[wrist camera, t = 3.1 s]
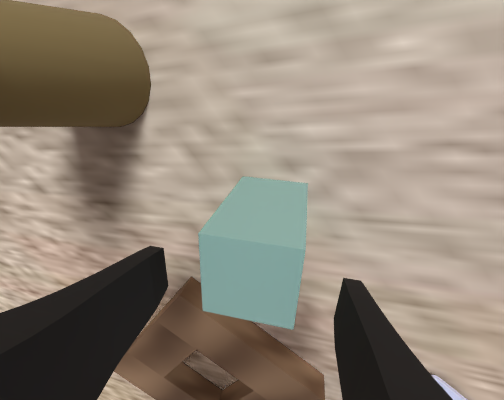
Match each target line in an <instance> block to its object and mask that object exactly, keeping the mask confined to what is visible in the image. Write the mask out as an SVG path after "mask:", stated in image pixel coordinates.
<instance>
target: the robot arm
mask: <svg viewBox="0 0 504 400" xmlns="http://www.w3.org/2000/svg"><path fill="white" fill-rule="evenodd" d="M167 288H168V280H167V272H166V264H165V256H164V248H160V247H154V246H149V247H147V248H144V249H142V250H140V251H138V252H136V253H134V254H132V255H130V256H128V257H127V258H125V259H123V260H121V261H119V262H117V263H115V264H113V265H111V266H109V267H107V268H105V269H103V270H101V271H99V272H97V273H95V274H93V275H91V276H89V277H87V278H85V279H83V280H81V281H79V282H76V283H74V284H72V285H70V286H68V287H66V288H64V289H61V290H59V291H57V292H54V293H52V294H50V295H47V296H45V297H42V298H40V299H37V300H35V301H32V302H30V303H27V304H25V305H22V306H19V307H16V308H14V309H11V310H8V311H5V312H2V313H0V400H97V399H98V397H99V395H100V394H101V392H102V390H103V388H104V387H105V385H106V383H107V381H108V380H109V378H110V376H111V375H112V373H113V371H114V370H115V368H116V367H117V365H118V364H119V362H120V361H121V359H122V358H123V356H124V355H125V353H126V352H127V351H128V349H129V348H130V346H131V345H132V343H133V342H134V341H135V339H136V338H137V336H138V335H139V333H140V332H141V331H142V329H143V328H144V326H145V325H146V323H147V322H148V321H149V319H150V318H151V316H152V315H153V313H154V312H155V310H156V309H157V307H158V305H159V303H160V301H161V300H162V298H163V296H164V294H165V292H166V290H167ZM334 338H335V351H336V358H337V365H338V372H339V378H340V385H341V392H342V398H343V400H467V399H466V398H465V397H464V396H462V395H461V394H460V393H459V392H457V391H456V390H455V389H453V388H452V387H451V386H450V385H448V384H447V383H446V382H445V381H443V380H442V379H441V378H439V377H438V376H436V375H431V374H430V373H429V372H428V371H427V370H426V368H425V367H424V366H423V365H422V364H421V362H420V361H419V360H418V359H417V357H416V356H415V355H414V354H413V352H412V351H411V350H410V349H409V347H408V346H407V345H406V344H405V342H404V341H403V340H402V338H401V337H400V336H399V334H398V333H397V332H396V330H395V329H394V328H393V326H392V325H391V323H390V322H389V321H388V319H387V318H386V317H385V315H384V314H383V312H382V311H381V309H380V308H379V306H378V305H377V304H376V302H375V301H374V299H373V298H372V296H371V295H370V293H369V292H368V290H367V289H366V287H365V286H364V284H363V283H362V282H361V281H359V280H353V279H347V278H343V282H342V286H341V290H340V295H339V299H338V303H337V307H336V311H335V315H334Z"/></svg>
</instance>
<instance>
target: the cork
mask: <svg viewBox="0 0 504 400" xmlns="http://www.w3.org/2000/svg"><path fill="white" fill-rule="evenodd" d="M150 87H151V82H150V74H149V66H148V64H147V61H146V58H145V56H144V53H143V51H142V48H141V47H140V45H139V44H138V42H137V41H136V39H135V38H134V37H133V35H132V34H131V32H130V31H129V30H127V29H126V28H125V27H124V26H123V25H121V24H120V23H119V22H118V21H117V20H115V19H112V18H109V17H107V16H104V15H102V14H97V13H91V12H84V11H77V10H71V9H64V8H58V7H51V6H45V5H38V4H32V3H25V2H18V1H12V0H0V127H121V126H124V125H127V124H130V123H133V122H134V121H135V120H136V119H137V118H138V117H139V116H140V115H142V113H143V111H144V109H145V107H146V105H147V103H148V101H149V94H150Z"/></svg>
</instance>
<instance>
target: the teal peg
mask: <svg viewBox="0 0 504 400" xmlns="http://www.w3.org/2000/svg"><path fill="white" fill-rule="evenodd" d="M307 189H308V183H299V182H290V181H281V180H271V179H262V178H253V177H242V178H241V180H240V181H239V182H238V183H237V185H236V186H235V187H234V188H233V190H232V191H231V192H230V194H229V195H228V196H227V197H226V199H225V200H224V201H223V203H222V204H221V205H220V206H219V208H218V209H217V210H216V212H215V213H214V214H213V215H212V217H211V218H210V219H209V220H208V222H207V223H206V224H205V226H204V227H203V228H202V229H201V231H200V232H199V233H198V235H199V253H200V271H201V289H202V308H203V311H206V312H211V313H216V314H220V315H225V316H230V317H235V318H240V319H244V320H249V321H254V322H259V323H263V324H268V325H273V326H278V327H283V328H287V329H292V330H293V329H294V323H295V316H296V309H297V303H298V296H299V289H300V283H301V276H302V270H303V263H304V256H305V250H306V220H307Z"/></svg>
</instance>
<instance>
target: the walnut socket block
mask: <svg viewBox="0 0 504 400" xmlns="http://www.w3.org/2000/svg"><path fill="white" fill-rule="evenodd" d="M195 350H197V351H199V352H200V353H202V354H203V355H204V356H206V357H207V358H209V359H210V360H211V361H213V362H214V363H216V364H217V365H219V366H220V367H221V368H223V369H224V370H226V371H227V372H228V373H230V374H231V375H233V376H234V377H235V378H237V379H238V381H236V382H235V383H233V384H232V385H230V386H228V387H227V388H225V389H224V390H221V389H220V388H218V387H217V386H215V385H214V384H212V383H211V382H210V381H208V380H207V379H205V378H204V377H202V376H201V375H200V374H198V373H197V372H195V371H194V370H193V369H191V368H190V367H188V366H187V365H185V364H184V363H183V362H182V361H183V360H185V359H186V358H187V357H188V356H189V355H190V354H192V353H193V352H194V351H195ZM114 372H116V373H117V374H119V375H120V376H122V377H123V378H125V379H126V380H128V381H129V382H130V383H132V384H133V385H135V386H136V387H138V388H139V389H141V390H142V391H144V392H145V393H147V394H148V395H150V396H151V397H153V398H154V399H156V400H325V390H324V375H323V374H322V373H320V372H319V371H318V370H316V369H315V368H314V367H312V366H311V365H310V364H308V363H307V362H305V361H304V360H303V359H301V358H300V357H299V356H297V355H296V354H295V353H293V352H292V351H291V350H289V349H288V348H287V347H285V346H284V345H283V344H281V343H280V342H279V341H277V340H276V339H275V338H273V337H272V336H271V335H269V334H268V333H266V332H265V331H264V330H262V329H261V328H260V327H258V326H257V325H256V324H254V323H253V322H252V321H249V320H244V319H240V318H235V317H230V316H225V315H220V314H216V313H211V312H206V311H203V308H202V289H201V283H199V282H198V281H197V280H195V279H194V278H192V277H191V278H190V279H189V280H188V281H187V282H186V283H185V284H184V285H183V287H182V288H181V289H180V290H179V291H178V292H177V293H176V294H175V295H174V297H173V298H172V299H171V300H170V301H169V302H168V303H167V304H166V306H165V307H164V308H163V309H162V310H161V311H160V312H159V313H158V314H157V316H156V317H155V318H154V319H153V320H152V321H151V322H150V323H149V325H148V326H147V327H146V328H145V329H144V330H143V331H142V332H141V333H140V335H139V336H138V337H137V338H136V339H135V341H134V342H133V343H132V345H131V346H130V348H129V349H128V351H127V352H126V353H125V355H124V356H123V358H122V359H121V361H120V362H119V364H118V365H117V367H116V368H115V370H114Z"/></svg>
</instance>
